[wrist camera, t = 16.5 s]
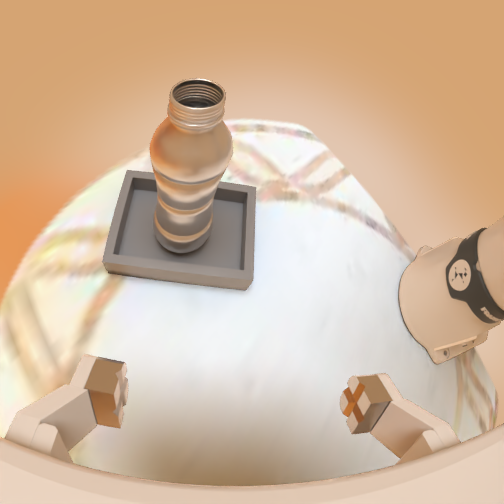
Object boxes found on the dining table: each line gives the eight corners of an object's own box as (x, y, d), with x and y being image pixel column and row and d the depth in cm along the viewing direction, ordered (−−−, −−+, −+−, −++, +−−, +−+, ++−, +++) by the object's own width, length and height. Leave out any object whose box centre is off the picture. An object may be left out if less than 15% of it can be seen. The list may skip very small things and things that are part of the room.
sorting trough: (249, 202, 41) (256, 187, 38) (246, 290, 36) (253, 280, 33) (129, 186, 38) (127, 170, 35) (108, 273, 33) (102, 261, 29)
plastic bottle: (144, 223, 35) (132, 80, 17) (194, 201, 38) (219, 61, 20) (169, 269, 34) (169, 138, 16) (220, 243, 36) (267, 111, 19)
